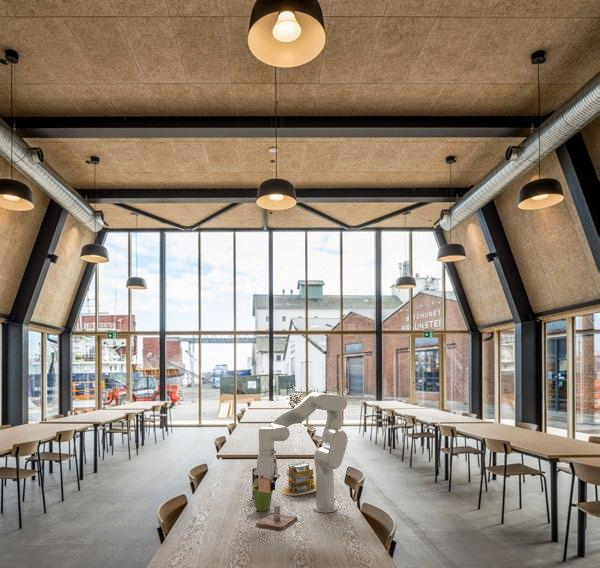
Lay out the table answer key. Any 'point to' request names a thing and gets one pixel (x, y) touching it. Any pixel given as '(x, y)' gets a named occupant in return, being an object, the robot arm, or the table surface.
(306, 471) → the plate with layered stack
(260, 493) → the plant pot
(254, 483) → the coffee box
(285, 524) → the post board
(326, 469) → the robot arm
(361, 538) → the table surface
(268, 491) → the salmon orange cube
